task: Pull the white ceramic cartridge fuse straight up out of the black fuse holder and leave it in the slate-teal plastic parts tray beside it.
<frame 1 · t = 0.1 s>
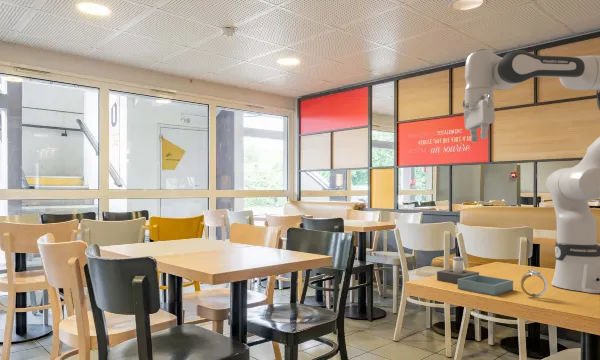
hand: (478, 140, 149), 48 cm above the table, fingers open, 8 cm apart
fuse: (457, 269, 155), in the fuse holder
ring: (533, 297, 131), on the table
fuse holder: (457, 280, 155), on the table
parts tray: (485, 289, 141), on the table
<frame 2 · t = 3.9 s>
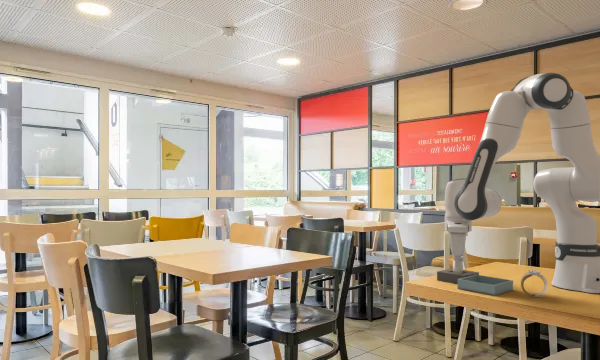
hand: (458, 265, 155), 5 cm above the table, fingers closed on fuse, 3 cm apart
fuse: (457, 268, 155), in the fuse holder, touching gripper
everything else where it was.
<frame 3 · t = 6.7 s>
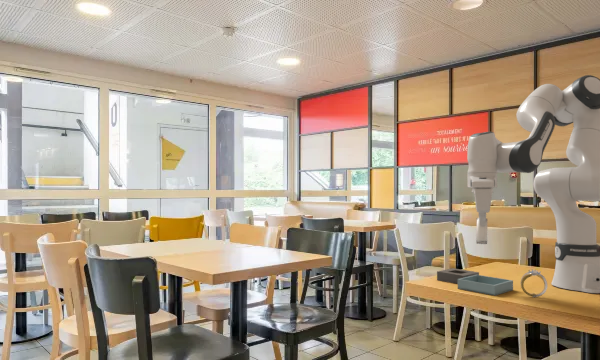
hand: (482, 225, 143), 20 cm above the table, fingers closed on fuse, 3 cm apart
fuse: (481, 230, 143), point 18 cm above the table, touching gripper
everything else where it was.
when the fingers open (8 cm above the table, at t = 9.9 s): fuse drops 1 cm, resting on parts tray.
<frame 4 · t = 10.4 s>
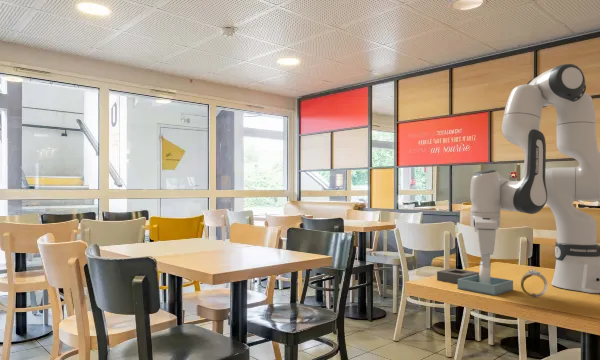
hand: (485, 265, 141), 8 cm above the table, fingers open, 8 cm apart
fuse: (485, 274, 142), in the parts tray
everything else where it was.
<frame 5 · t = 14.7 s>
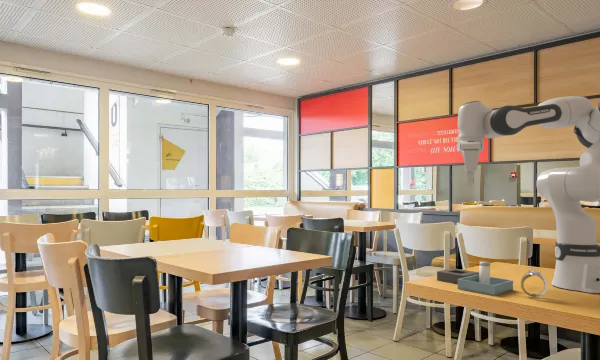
hand: (470, 185, 161), 33 cm above the table, fingers open, 8 cm apart
nothing on the table moved.
at the end: fuse inside the target area on the parts tray (0.1 cm from its centre), point 4.5 cm above the parts tray's base; fuse touching parts tray; the gripper is holding nothing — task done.
